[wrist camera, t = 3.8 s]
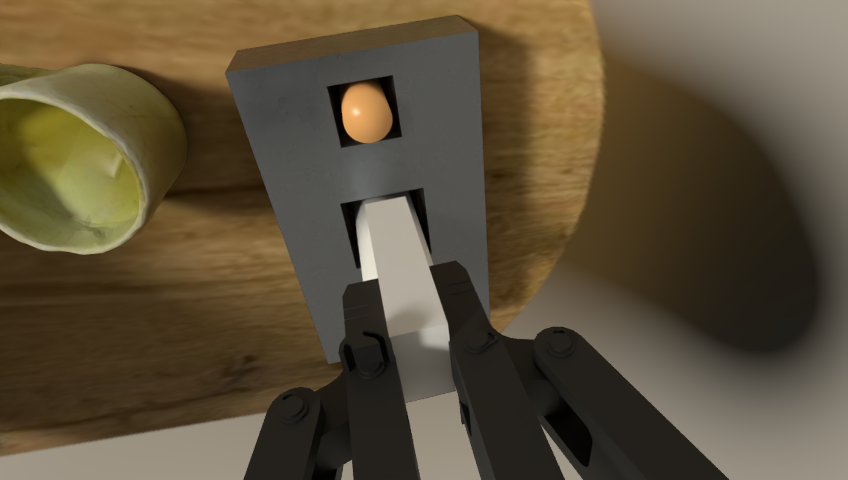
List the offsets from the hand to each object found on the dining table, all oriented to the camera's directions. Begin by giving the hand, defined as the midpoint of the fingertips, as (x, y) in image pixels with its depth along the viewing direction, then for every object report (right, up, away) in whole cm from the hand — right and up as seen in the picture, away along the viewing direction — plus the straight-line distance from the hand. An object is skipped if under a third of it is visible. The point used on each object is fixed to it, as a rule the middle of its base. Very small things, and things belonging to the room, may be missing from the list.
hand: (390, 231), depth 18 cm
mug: (-20, +8, +12) cm, 25 cm away
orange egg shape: (-3, +10, +14) cm, 17 cm away
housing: (-2, +3, +19) cm, 20 cm away
